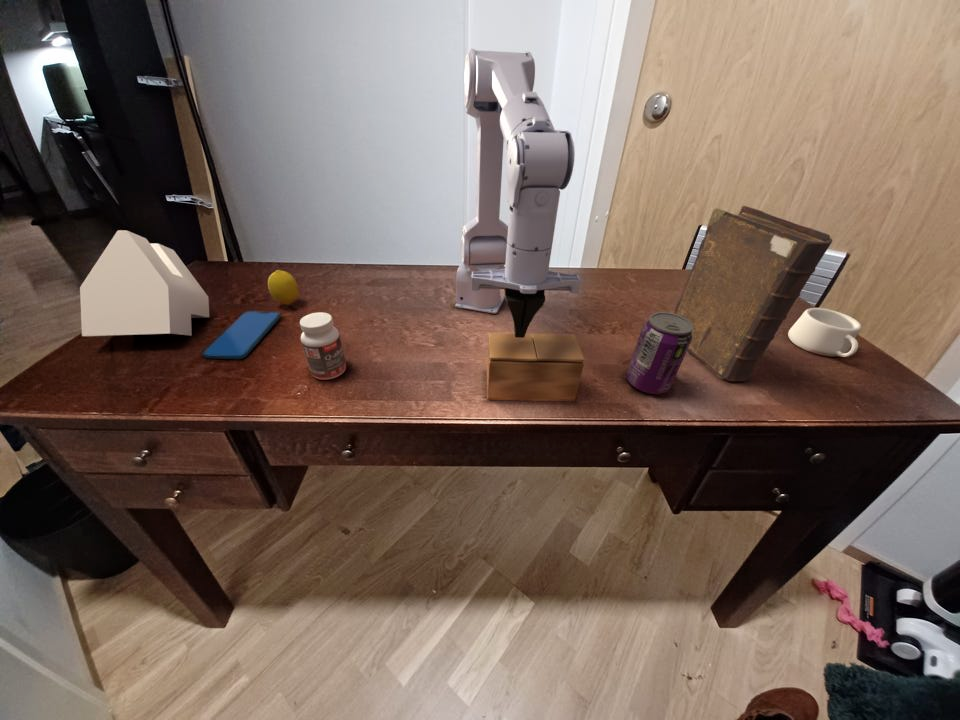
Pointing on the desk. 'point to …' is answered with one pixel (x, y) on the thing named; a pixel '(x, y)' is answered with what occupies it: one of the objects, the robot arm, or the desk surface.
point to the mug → (826, 332)
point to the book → (745, 286)
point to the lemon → (283, 287)
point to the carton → (538, 372)
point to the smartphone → (242, 335)
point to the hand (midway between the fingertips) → (519, 333)
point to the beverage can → (659, 352)
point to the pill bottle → (322, 346)
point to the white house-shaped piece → (139, 291)
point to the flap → (511, 347)
